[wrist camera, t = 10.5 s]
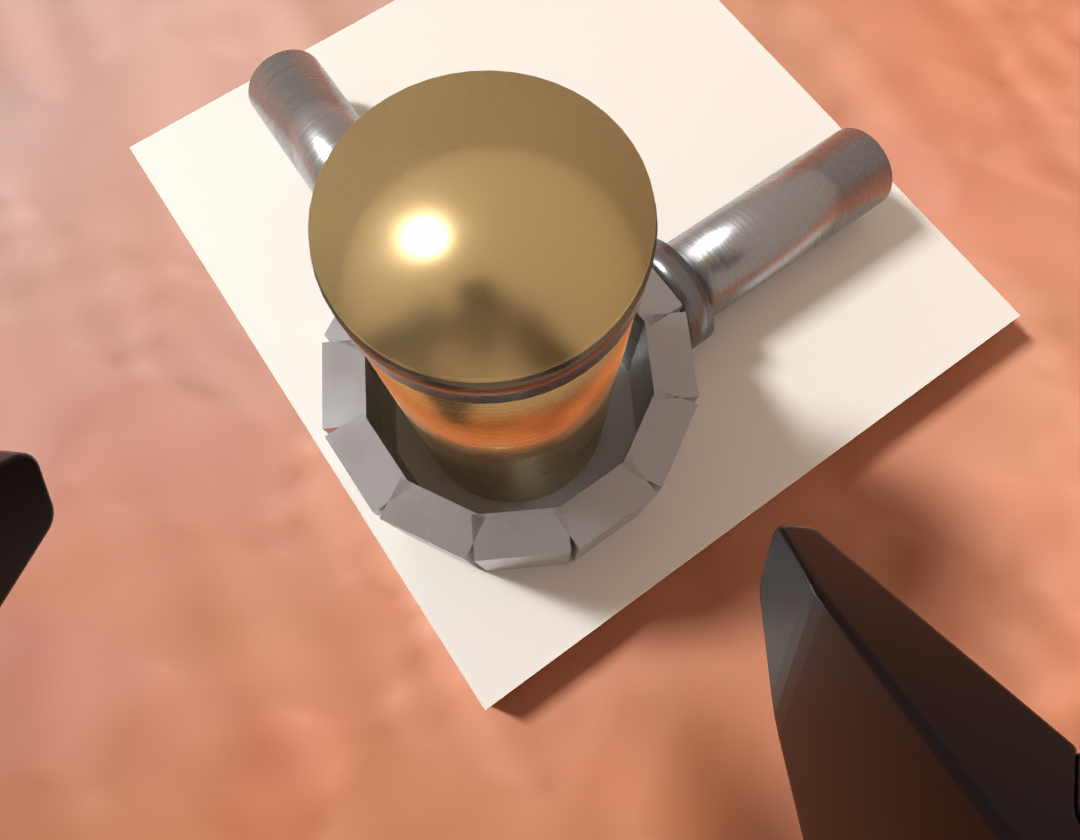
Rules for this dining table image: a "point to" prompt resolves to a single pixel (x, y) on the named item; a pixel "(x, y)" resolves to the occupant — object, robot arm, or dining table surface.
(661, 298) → the steel cradle
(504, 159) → the cylinder
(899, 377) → the mounting plate
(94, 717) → the dining table surface
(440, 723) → the dining table surface
